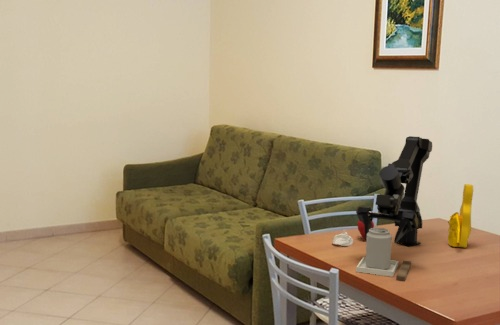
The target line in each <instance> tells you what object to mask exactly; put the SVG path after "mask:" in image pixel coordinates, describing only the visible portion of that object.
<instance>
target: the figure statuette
mask: <svg viewBox="0 0 500 325" xmlns="http://www.w3.org/2000/svg"><path fill="white" fill-rule="evenodd" d="M473 195H474V185H473V184H464V185H463V191H462V200H461V205H460V209H459V212H455V213H452V214H451V216H450V217H449V221H447V223H448V225H449V228H448V230H447V231H448V234H447V242H448V245H449V246H450V247H454V248H455V247H456V248H464V249H465V248H467V246H468V240H469V239H470V235H471V232H472V204H473V202H472V201H473Z"/></svg>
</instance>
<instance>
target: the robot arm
mask: <svg viewBox="0 0 500 325" xmlns="http://www.w3.org/2000/svg"><path fill="white" fill-rule="evenodd" d="M432 150H433V142H432V141H431V140H430V139H429V138H422V137H420V136H407V137H406V138H405V142H404V146H403V148H402V150H401V152H400V154H399V156H398V159H396V160H394V161H392V162H391V163H388V165H387V166H384V167H382V168H381V170H380V171H379V178H380V180H381V181H380V182H381V183H382V186H383V188H384V189H385V191H384V194H380V193H379V194H376V200H375V206H377V207H376V209H377V211H372V208H371V207H370V206H366V205H365V206H363V205H359V206H358V207H357V208H356V212H355V213H356V216H357V218H358V221H359V220H360V221H361V222H362V223H363V224H364V227H365V238H366V239H365V240H367V233H368V232H369V229H371V226H372V223H371V221H373V220H374V219H378V220H386V221H393V222H394V226H395V227H398V228H397V231H396V234H395V236H394V241H393V243H394V244H399V245H402V246H405V247H406V246H407V247H412V246H416V245H421V241H418V230H419V229H423V218H422V215H421V209H420V206H419V203H418V202H417V201H418V196H419V195H418V194H419V190H420V183H421V177H422V172H423V167H424V166H423V165H424V163H425V162H426V161H427V160H428V159H429V158H430V154H431V152H432ZM404 185H405V186H404Z"/></svg>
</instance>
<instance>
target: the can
mask: <svg viewBox="0 0 500 325" xmlns="http://www.w3.org/2000/svg"><path fill="white" fill-rule="evenodd" d="M392 239H393V238H392V234H391V233H390V229H388V228H383V227H374V228H371V229H369V232H368V233H367V239H366V244H365V246H366V247H365V249H366V250H365V257H366V265H367V266H368V268H372V269H380V270H386V269H388V268H389V267H390V263H391V260H392V259H391V257H392Z"/></svg>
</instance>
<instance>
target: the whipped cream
mask: <svg viewBox="0 0 500 325" xmlns="http://www.w3.org/2000/svg"><path fill="white" fill-rule="evenodd" d="M332 244H333V245H339V246H342V247H350V246H352V245H353V244H354V239H353V237H352V236H350V235H349V234H348V232H346V231H343V232H342V233H340V234H335V235H334V237H333V238H332ZM349 245H350V246H349Z"/></svg>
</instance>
